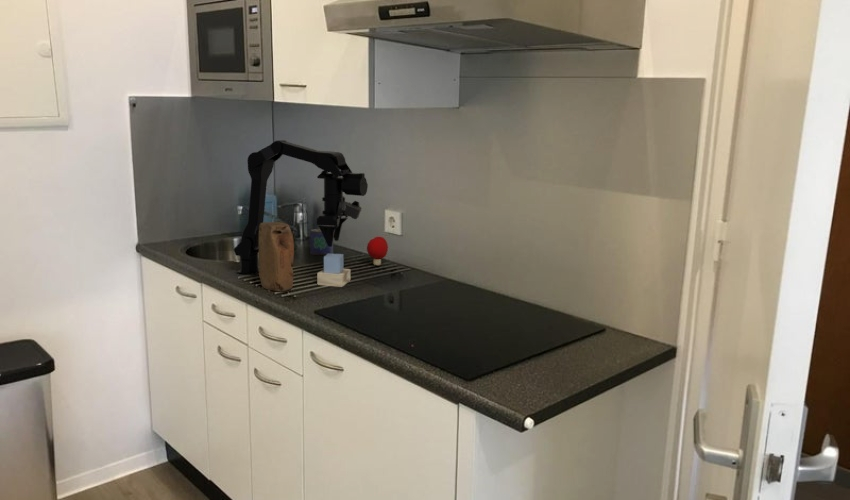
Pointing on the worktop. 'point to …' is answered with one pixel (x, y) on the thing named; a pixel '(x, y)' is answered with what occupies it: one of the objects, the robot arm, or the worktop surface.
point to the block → (276, 256)
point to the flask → (319, 243)
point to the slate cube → (333, 263)
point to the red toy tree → (377, 249)
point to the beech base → (333, 278)
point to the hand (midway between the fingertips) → (333, 243)
